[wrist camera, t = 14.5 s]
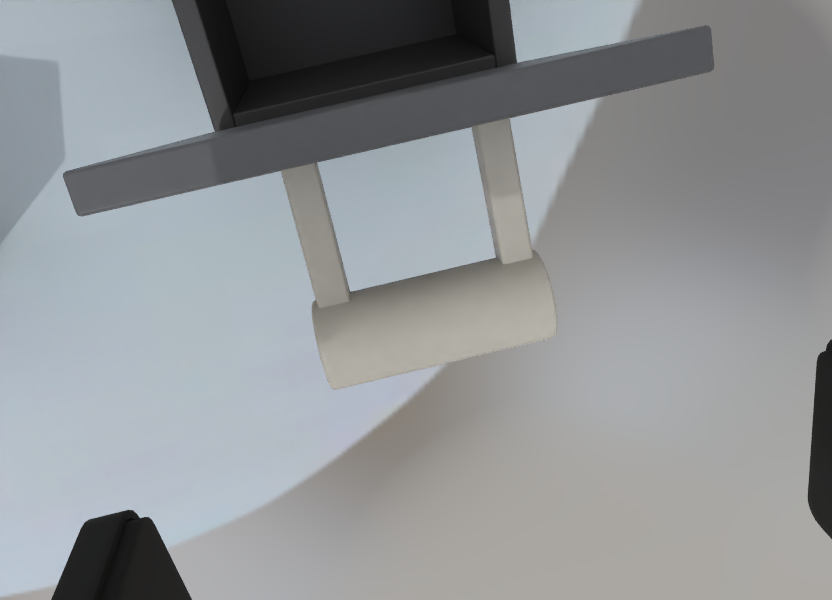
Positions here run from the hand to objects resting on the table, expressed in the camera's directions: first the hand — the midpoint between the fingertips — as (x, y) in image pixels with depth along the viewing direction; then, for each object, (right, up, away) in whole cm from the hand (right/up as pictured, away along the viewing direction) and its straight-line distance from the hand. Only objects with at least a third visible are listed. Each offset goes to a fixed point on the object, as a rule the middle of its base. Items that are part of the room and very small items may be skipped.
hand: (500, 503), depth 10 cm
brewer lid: (-2, +8, +9) cm, 13 cm away
